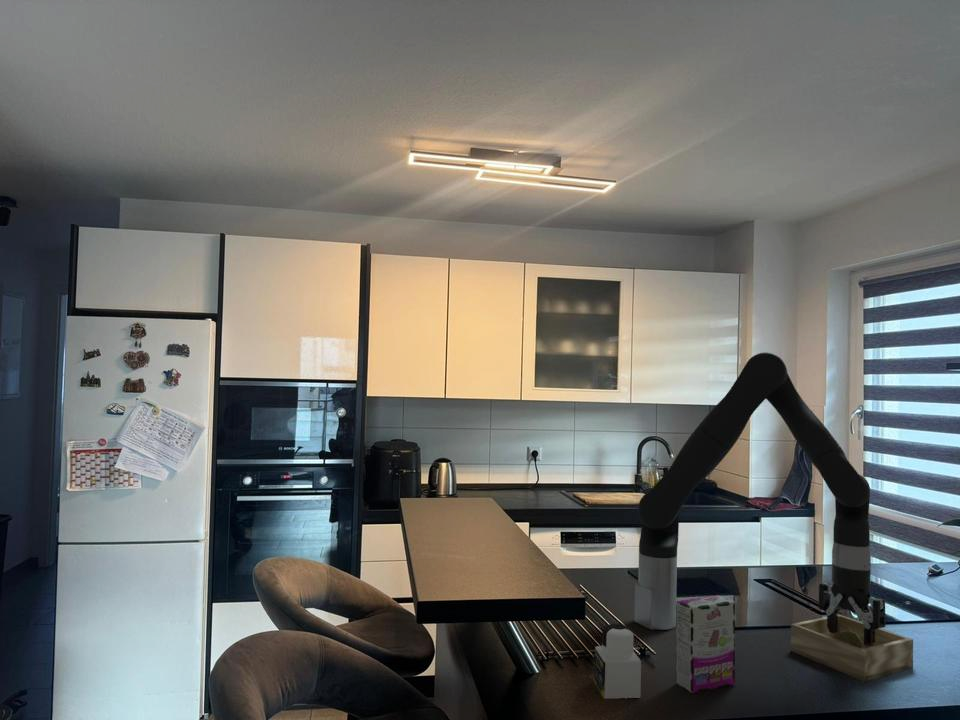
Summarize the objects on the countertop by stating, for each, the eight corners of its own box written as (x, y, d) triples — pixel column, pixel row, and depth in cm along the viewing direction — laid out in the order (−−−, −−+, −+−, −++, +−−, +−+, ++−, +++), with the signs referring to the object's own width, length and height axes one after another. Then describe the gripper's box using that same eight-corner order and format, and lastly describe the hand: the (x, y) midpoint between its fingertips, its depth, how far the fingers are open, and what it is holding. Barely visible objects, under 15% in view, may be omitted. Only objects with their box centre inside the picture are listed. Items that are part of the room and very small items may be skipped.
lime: (865, 659, 143) (865, 636, 143) (840, 657, 144) (841, 634, 144) (857, 651, 147) (858, 628, 147) (834, 648, 148) (834, 626, 148)
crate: (864, 681, 134) (864, 651, 134) (790, 650, 149) (791, 624, 149) (913, 667, 142) (913, 639, 142) (838, 639, 157) (838, 614, 157)
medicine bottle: (593, 682, 130) (595, 620, 130) (629, 682, 130) (630, 620, 131) (603, 699, 123) (605, 634, 123) (640, 699, 123) (642, 634, 124)
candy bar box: (717, 675, 135) (718, 594, 136) (735, 685, 130) (736, 601, 131) (673, 683, 131) (675, 599, 131) (691, 694, 126) (692, 607, 127)
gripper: (810, 557, 151) (810, 630, 150) (872, 574, 138) (872, 653, 137) (831, 554, 154) (831, 625, 154) (893, 570, 142) (893, 648, 141)
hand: (850, 638), depth 146 cm, fingers open, 7 cm apart
